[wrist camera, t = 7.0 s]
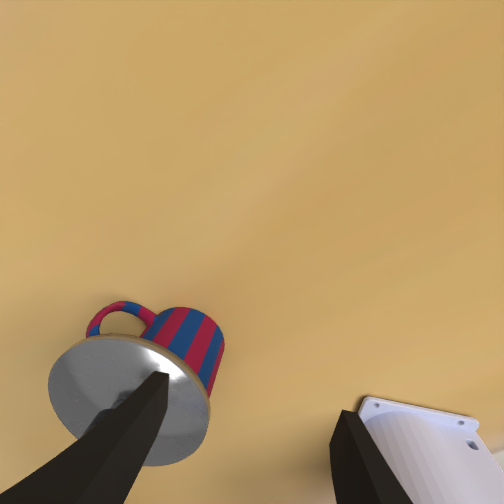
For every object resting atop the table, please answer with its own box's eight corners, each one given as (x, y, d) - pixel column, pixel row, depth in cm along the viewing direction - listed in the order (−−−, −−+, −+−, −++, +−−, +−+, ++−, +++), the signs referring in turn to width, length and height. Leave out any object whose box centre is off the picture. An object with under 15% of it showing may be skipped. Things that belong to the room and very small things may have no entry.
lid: (218, 352, 15) (194, 426, 11) (203, 468, 18) (180, 556, 14) (48, 318, 15) (-36, 376, 11) (65, 437, 19) (6, 514, 15)
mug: (180, 380, 25) (145, 457, 19) (110, 297, 23) (42, 352, 16) (239, 353, 23) (223, 428, 17) (170, 260, 21) (120, 306, 14)
